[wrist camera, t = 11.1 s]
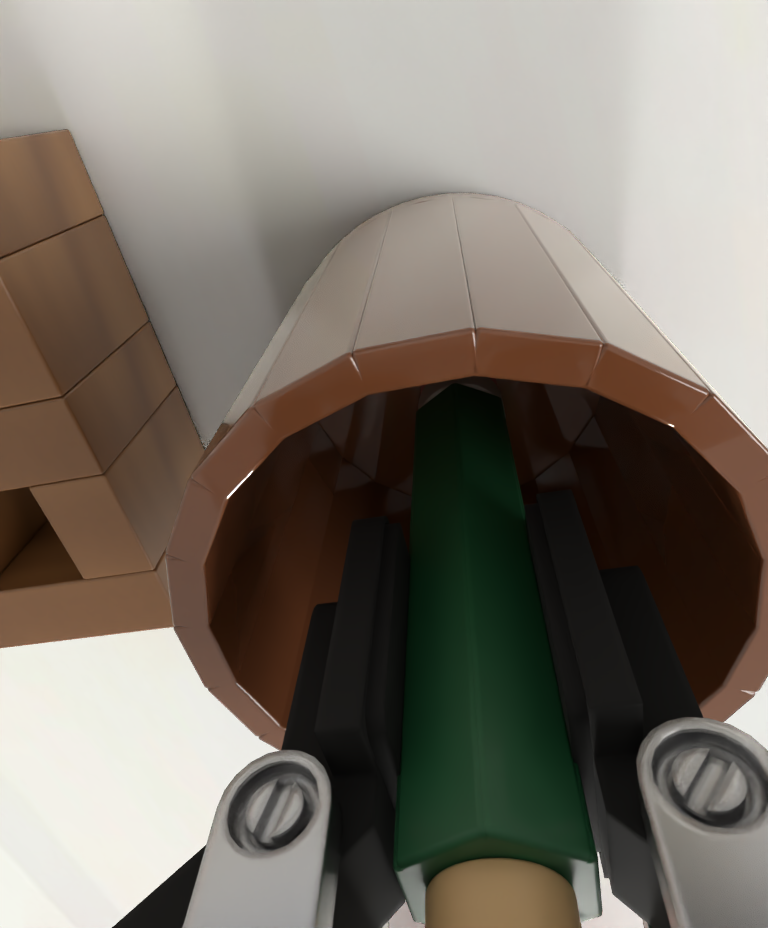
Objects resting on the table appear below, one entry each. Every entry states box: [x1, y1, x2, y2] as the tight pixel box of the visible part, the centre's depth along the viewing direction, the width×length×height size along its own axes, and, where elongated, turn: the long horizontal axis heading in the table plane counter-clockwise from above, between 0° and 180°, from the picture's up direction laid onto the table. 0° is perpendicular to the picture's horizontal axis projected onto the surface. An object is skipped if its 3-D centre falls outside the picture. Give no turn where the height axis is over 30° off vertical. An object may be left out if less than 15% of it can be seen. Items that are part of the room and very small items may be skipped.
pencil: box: [393, 376, 602, 928], centre depth 11 cm, size 2×2×14 cm
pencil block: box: [0, 129, 205, 648], centre depth 17 cm, size 12×7×5 cm, turn 13°
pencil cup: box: [165, 193, 768, 751], centre depth 14 cm, size 9×9×10 cm
